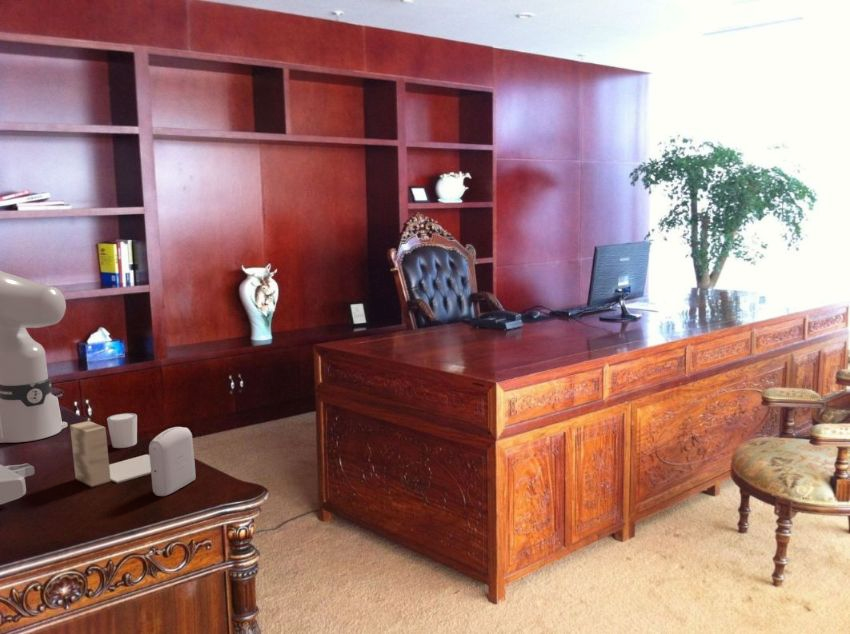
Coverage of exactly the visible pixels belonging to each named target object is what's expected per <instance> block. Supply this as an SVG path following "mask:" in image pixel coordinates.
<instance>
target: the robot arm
mask: <svg viewBox="0 0 850 634" xmlns="http://www.w3.org/2000/svg"><path fill="white" fill-rule="evenodd" d="M66 310H67V302H66V298H65V296H64V294H63V292H61V290H60V289H59V288H57V287H55V286H51V285H47V284H42V283H39V282H35V281H32V280H30V279H26V278H24V277H21V276H18V275H16V274H13V273H8V272H5V271H2V270H0V443H1V444H2V443H3V444H4V443H22V442H23V443H24V442H32V441H38V440H42V439H45V438H49V437H52V436H54V435H57V434H58V433H60V432H61V431H62V430H63V429H65V428H67V427H68V422H66V421H62V414H61V409H60V405H59V404H60V403H59V399H58V397H57V396H55V395H54V394H52V383H51V382H52V381H51V378H50V377H49V375H48V364H47V356H46V350H45V348H44V347H43V345H42V344H41V343H39V342H37V341H36V340H35V339H33V338H32V336H31V335H30V334H29V332H28V330H27V329H29V328H30V329H37V328H44V327H49V326H53V325H56V324H59V322H61V320H62V319H63V318H64V316H65V314H66ZM35 472H36V471H35V467H34V466H33V465H31V464H29V463H23V464H14V465H12V464H11V465H4V464H1V463H0V505H4V504H6V503H9V502H12V501H15V500H18V499H20V498H22V497H23V496H25V495H26V494H27V487H26V486H27V485H26V479H25V478H26V477H29V476H33V475H35Z"/></svg>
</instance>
